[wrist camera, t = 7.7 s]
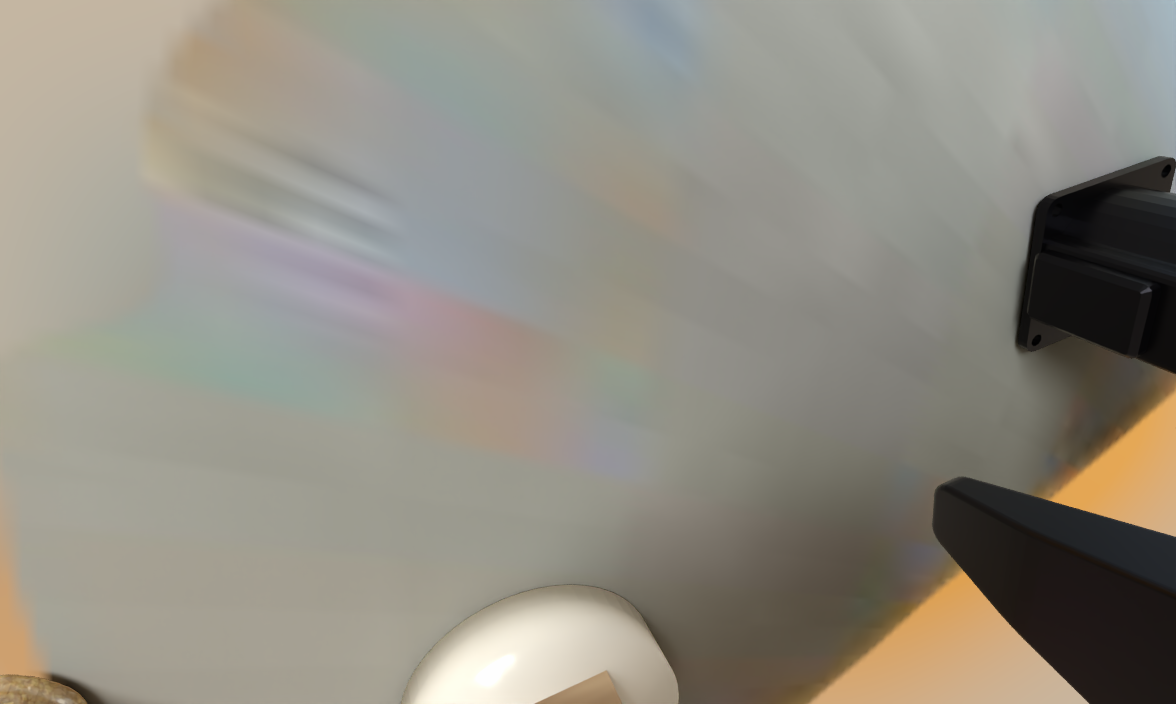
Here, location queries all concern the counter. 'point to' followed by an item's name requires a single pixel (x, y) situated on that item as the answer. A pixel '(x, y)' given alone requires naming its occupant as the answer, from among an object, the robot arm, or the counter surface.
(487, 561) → the counter surface
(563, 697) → the beech cube
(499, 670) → the ceramic stand
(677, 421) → the counter surface
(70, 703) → the sprinkles bottle
